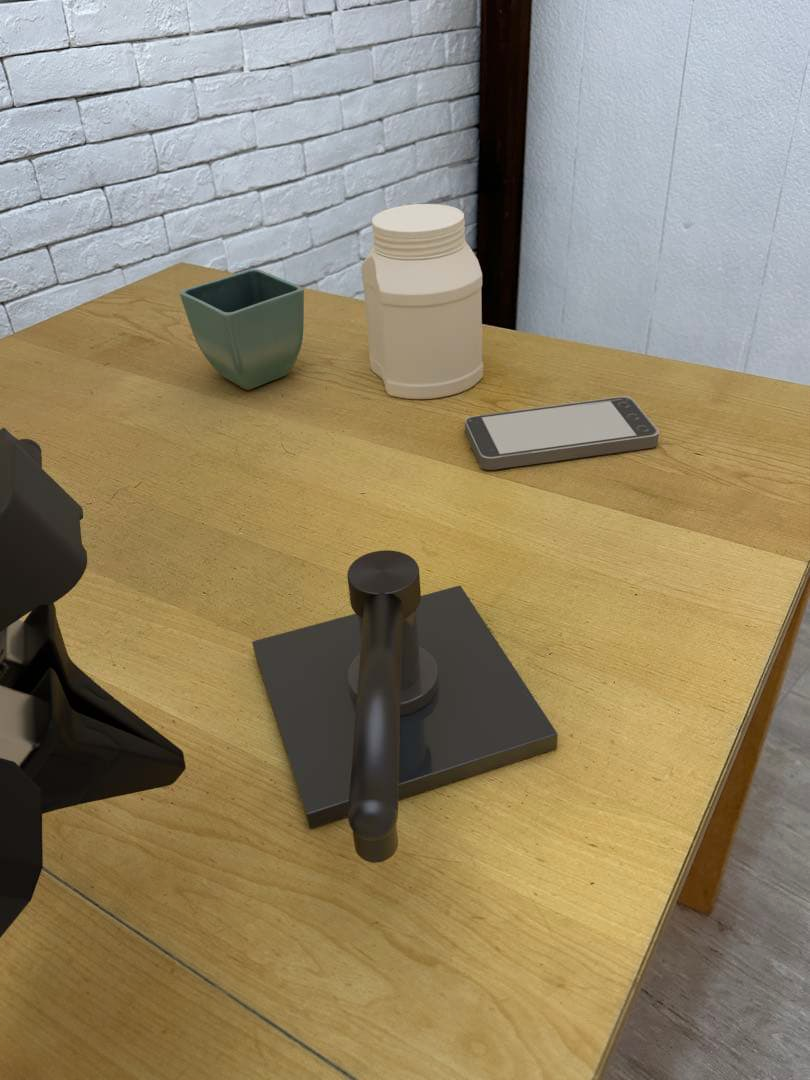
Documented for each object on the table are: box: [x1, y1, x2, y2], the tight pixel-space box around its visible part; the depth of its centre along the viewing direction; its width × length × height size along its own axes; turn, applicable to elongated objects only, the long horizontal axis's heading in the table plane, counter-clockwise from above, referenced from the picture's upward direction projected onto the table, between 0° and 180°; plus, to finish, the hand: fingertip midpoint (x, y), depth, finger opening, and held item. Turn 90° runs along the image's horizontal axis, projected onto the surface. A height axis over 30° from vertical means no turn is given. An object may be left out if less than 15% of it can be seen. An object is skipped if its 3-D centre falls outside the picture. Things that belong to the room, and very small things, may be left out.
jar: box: [360, 203, 484, 400], centre depth 84 cm, size 12×10×15 cm
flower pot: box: [178, 268, 305, 391], centre depth 88 cm, size 9×9×9 cm
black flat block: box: [251, 585, 559, 829], centre depth 51 cm, size 14×14×7 cm
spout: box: [346, 549, 422, 864], centre depth 43 cm, size 18×4×3 cm, turn 179°
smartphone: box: [464, 395, 660, 471], centre depth 76 cm, size 7×1×15 cm
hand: (179, 768), depth 34 cm, fingers closed
